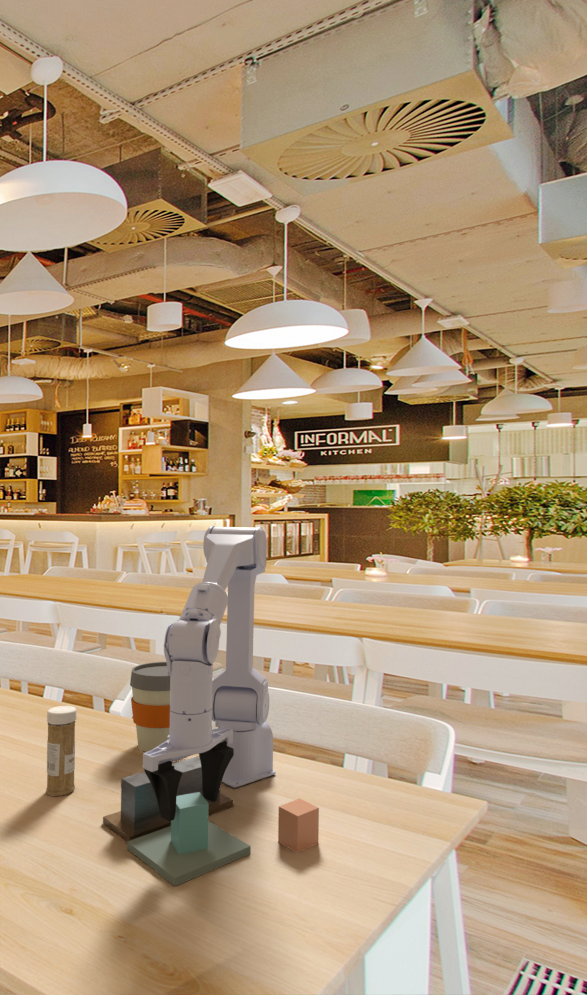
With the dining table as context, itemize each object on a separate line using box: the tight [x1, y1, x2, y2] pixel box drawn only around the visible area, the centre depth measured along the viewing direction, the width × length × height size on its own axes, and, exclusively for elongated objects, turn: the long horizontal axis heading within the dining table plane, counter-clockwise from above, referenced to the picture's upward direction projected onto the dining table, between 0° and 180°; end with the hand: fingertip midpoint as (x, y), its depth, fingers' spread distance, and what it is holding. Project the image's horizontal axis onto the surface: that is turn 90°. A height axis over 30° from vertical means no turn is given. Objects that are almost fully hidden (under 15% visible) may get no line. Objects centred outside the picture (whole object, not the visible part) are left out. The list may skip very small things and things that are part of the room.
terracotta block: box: [277, 797, 320, 854], centre depth 94 cm, size 4×4×5 cm
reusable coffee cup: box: [129, 661, 170, 753], centre depth 132 cm, size 13×13×15 cm
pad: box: [126, 820, 251, 887], centre depth 91 cm, size 12×12×1 cm
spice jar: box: [45, 705, 77, 797], centre depth 110 cm, size 5×5×14 cm
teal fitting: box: [171, 792, 209, 855], centre depth 91 cm, size 4×4×6 cm
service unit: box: [102, 755, 234, 843], centre depth 102 cm, size 18×8×7 cm, turn 133°
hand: (189, 808), depth 91 cm, fingers open, 7 cm apart
